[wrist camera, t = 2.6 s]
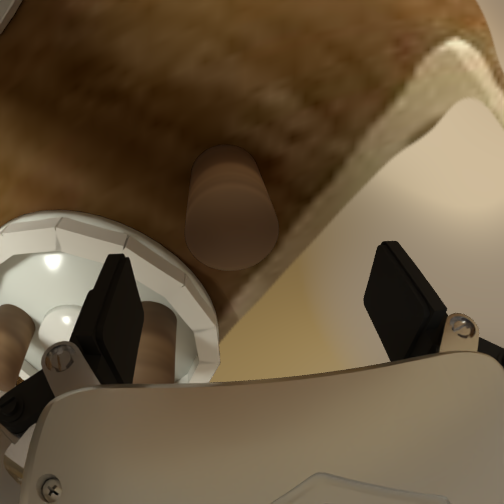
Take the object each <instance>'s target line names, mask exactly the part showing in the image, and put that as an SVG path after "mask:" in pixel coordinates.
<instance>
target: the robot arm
mask: <svg viewBox="0 0 504 504" xmlns="http://www.w3.org/2000/svg"><path fill="white" fill-rule="evenodd" d="M21 2H22V0H0V34H1V33H2V32H3V30H4V29H5V27H6V26H7V24H8V23H9V21H10V20H11V18H12V17H13V16H14V14H15V12H16V10H17V9H18V7H19V5H20V3H21ZM364 306H365V308H366V310H367V311H368V314H369V316H370V318H371V320H372V322H373V324H374V327H375V329H376V331H377V333H378V335H379V337H380V339H381V341H382V344H383V346H384V348H385V350H386V352H387V354H388V357H389V359H390V361H391V362H387V363H382V364H376V365H371V366H365V367H359V368H353V369H346V370H340V371H333V372H326V373H319V374H310V375H302V376H293V377H284V378H273V379H262V380H248V381H235V382H213V383H175V384H132V383H133V377H134V371H135V365H136V360H137V354H138V348H139V343H140V338H141V333H142V328H143V323H144V310H143V306H142V303H141V299H140V296H139V292H138V288H137V285H136V281H135V277H134V273H133V269H132V265H131V261H130V258H129V257H125V255H124V254H123V253H121V254H109V255H108V256H107V258H106V260H105V263H104V265H103V267H102V269H101V272H100V274H99V276H98V279H97V281H96V283H95V286H94V288H93V289H91V290H90V291H89V292H88V294H87V296H86V299H85V301H84V303H83V306H82V308H81V311H80V313H79V316H78V318H77V321H76V324H75V326H74V329H73V331H72V334H71V337H70V340H69V341H61V342H57V343H55V344H53V345H51V346H50V347H48V348H47V350H46V351H45V352H44V354H43V356H42V359H41V366H42V369H41V370H40V371H38V372H37V373H35V374H34V375H32V376H31V377H29V378H28V379H26V380H25V381H23V382H22V383H20V384H19V385H17V386H16V387H14V388H13V389H11V390H10V391H8V392H7V393H5V394H4V395H3V396H2V397H1V398H0V504H504V348H501V347H499V346H497V345H495V344H493V343H491V342H489V341H487V340H484V339H482V338H480V337H479V329H478V326H477V324H476V323H475V322H474V320H472V319H471V318H470V317H468V316H466V315H464V314H461V313H453V314H451V315H449V316H448V315H447V313H446V311H447V308H446V306H445V305H444V304H443V302H442V301H441V299H440V298H439V296H438V295H437V293H436V292H435V291H434V289H433V288H432V286H431V285H430V284H429V282H428V281H427V280H426V278H425V277H424V276H423V274H422V273H421V271H420V270H419V269H418V267H417V266H416V265H415V263H414V262H413V261H412V260H411V258H410V257H409V256H408V254H407V253H406V252H405V251H404V249H403V248H402V247H401V245H400V244H399V243H398V242H397V241H384V242H382V243H381V245H379V246H378V247H377V250H376V254H375V258H374V262H373V266H372V269H371V273H370V277H369V281H368V284H367V288H366V291H365V295H364Z"/></svg>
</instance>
